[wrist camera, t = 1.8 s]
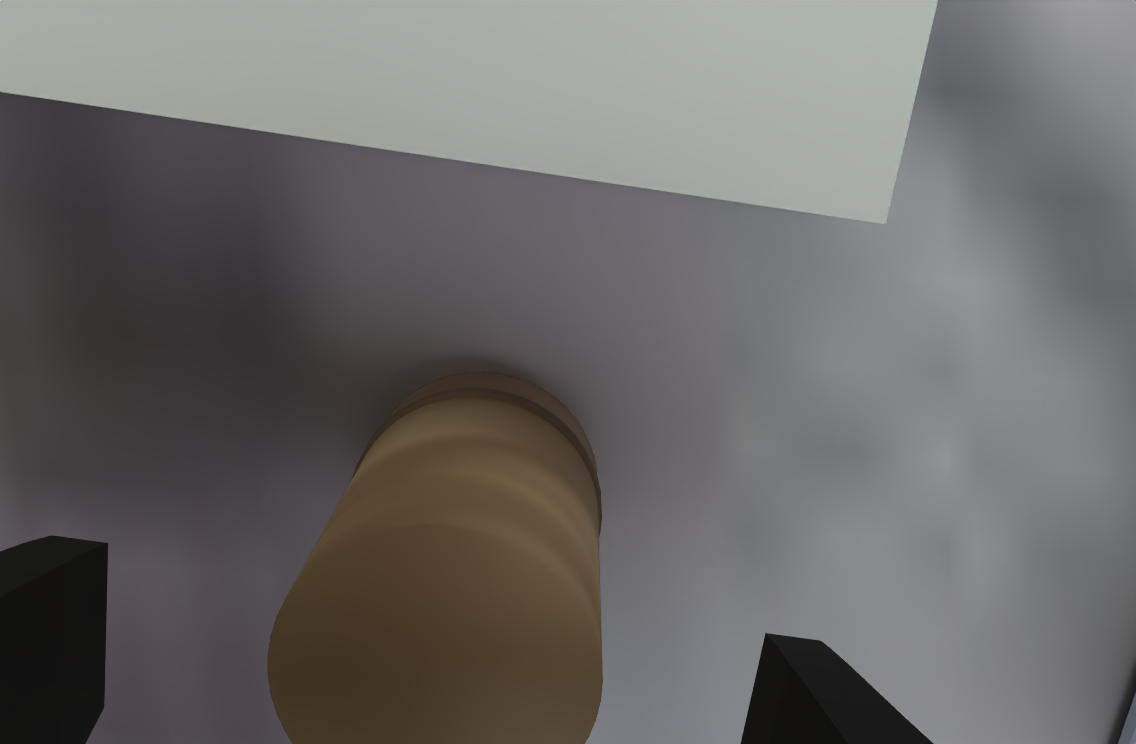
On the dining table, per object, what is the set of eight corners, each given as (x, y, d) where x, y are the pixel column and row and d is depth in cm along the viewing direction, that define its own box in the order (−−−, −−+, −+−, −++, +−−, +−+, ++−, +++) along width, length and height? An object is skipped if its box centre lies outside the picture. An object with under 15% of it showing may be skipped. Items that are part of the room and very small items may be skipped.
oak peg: (615, 361, 18) (633, 547, 11) (582, 560, 19) (580, 843, 12) (394, 329, 17) (274, 496, 11) (373, 531, 18) (253, 799, 12)
